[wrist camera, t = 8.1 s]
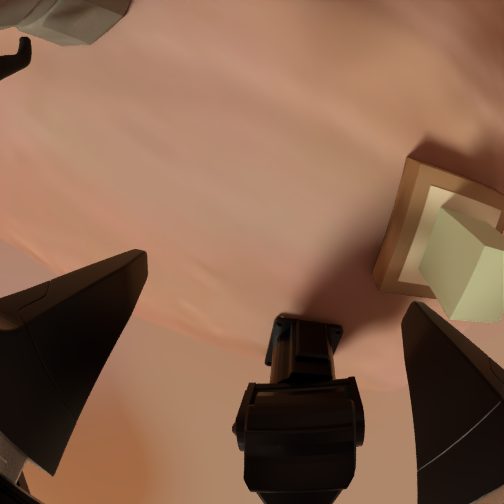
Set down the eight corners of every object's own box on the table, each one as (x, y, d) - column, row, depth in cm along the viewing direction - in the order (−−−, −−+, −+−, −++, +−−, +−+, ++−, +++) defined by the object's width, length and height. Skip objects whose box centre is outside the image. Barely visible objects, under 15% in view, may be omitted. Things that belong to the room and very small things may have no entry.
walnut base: (459, 288, 23) (470, 304, 20) (371, 274, 23) (379, 292, 21) (497, 190, 18) (514, 200, 16) (406, 156, 18) (420, 163, 16)
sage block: (464, 276, 19) (497, 323, 14) (417, 268, 20) (449, 319, 14) (486, 221, 17) (530, 259, 12) (440, 207, 17) (484, 245, 12)
